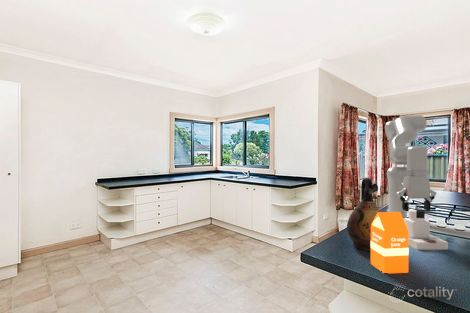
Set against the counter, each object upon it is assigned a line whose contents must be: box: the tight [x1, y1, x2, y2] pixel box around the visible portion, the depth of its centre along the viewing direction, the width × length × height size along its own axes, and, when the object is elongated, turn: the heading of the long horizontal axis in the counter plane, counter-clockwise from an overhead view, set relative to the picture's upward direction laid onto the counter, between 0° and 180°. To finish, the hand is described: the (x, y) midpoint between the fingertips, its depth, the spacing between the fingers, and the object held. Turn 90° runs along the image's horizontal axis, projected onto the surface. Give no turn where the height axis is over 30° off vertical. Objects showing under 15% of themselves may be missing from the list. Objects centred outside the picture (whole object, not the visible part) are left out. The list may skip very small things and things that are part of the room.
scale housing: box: [409, 234, 449, 251], centre depth 112 cm, size 17×13×4 cm
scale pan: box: [409, 236, 435, 239], centre depth 113 cm, size 11×11×1 cm
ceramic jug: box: [346, 177, 381, 252], centre depth 108 cm, size 17×15×30 cm
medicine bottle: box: [404, 208, 431, 238], centre depth 114 cm, size 7×7×12 cm
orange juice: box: [370, 211, 410, 274], centre depth 88 cm, size 8×9×20 cm
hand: (416, 210), depth 114 cm, fingers open, 9 cm apart
